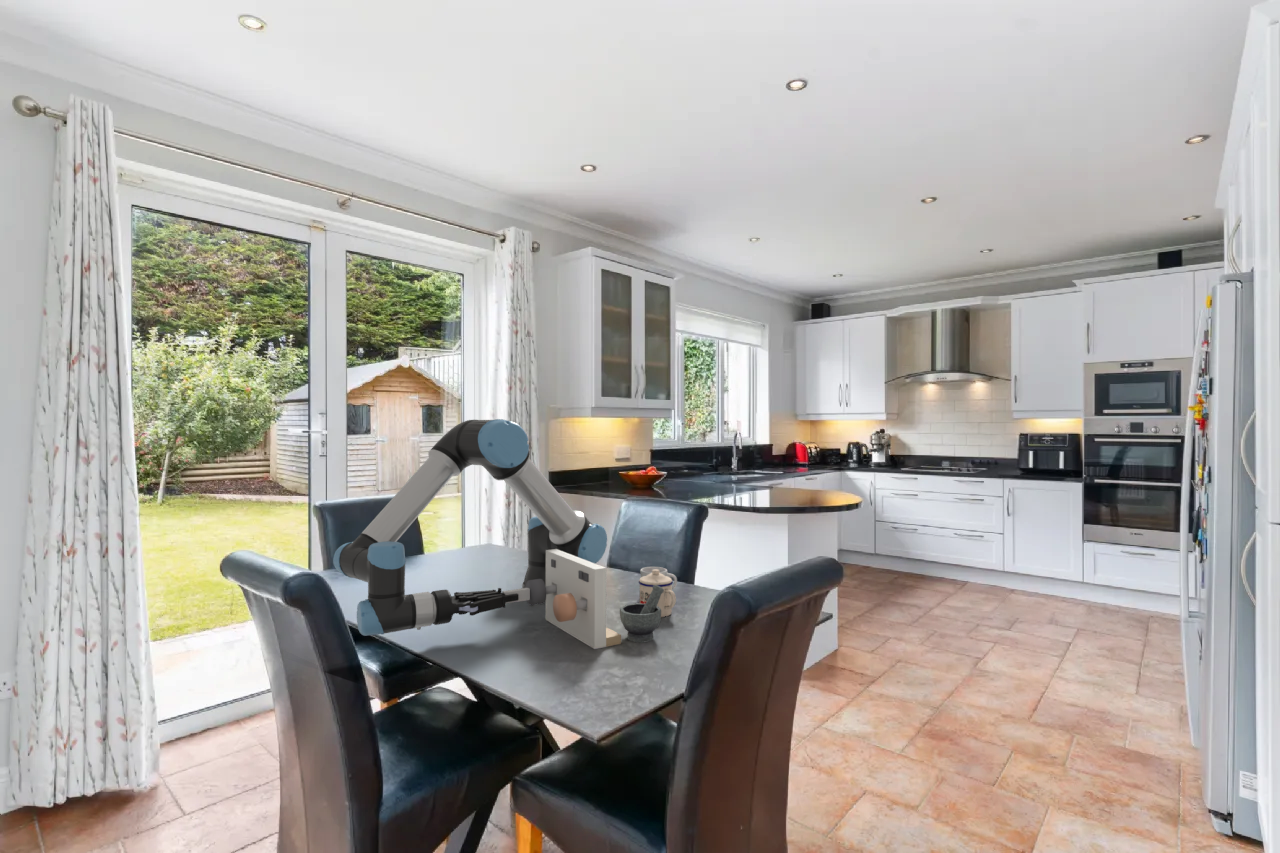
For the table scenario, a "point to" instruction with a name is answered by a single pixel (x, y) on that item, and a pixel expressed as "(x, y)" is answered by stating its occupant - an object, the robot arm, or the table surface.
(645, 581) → the teacup with lid
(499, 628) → the table surface
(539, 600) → the charcoal button
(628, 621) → the mortar and pestle
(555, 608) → the terracotta button
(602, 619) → the button panel
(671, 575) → the cup
